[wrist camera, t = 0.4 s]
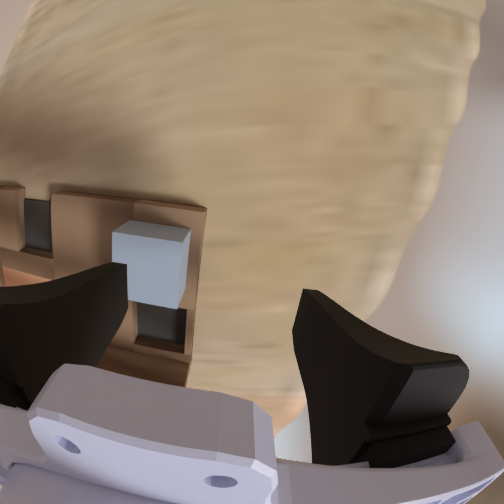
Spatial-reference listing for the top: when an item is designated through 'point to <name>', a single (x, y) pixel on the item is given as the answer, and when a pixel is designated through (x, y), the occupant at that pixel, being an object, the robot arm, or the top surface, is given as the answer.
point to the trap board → (98, 253)
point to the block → (153, 261)
